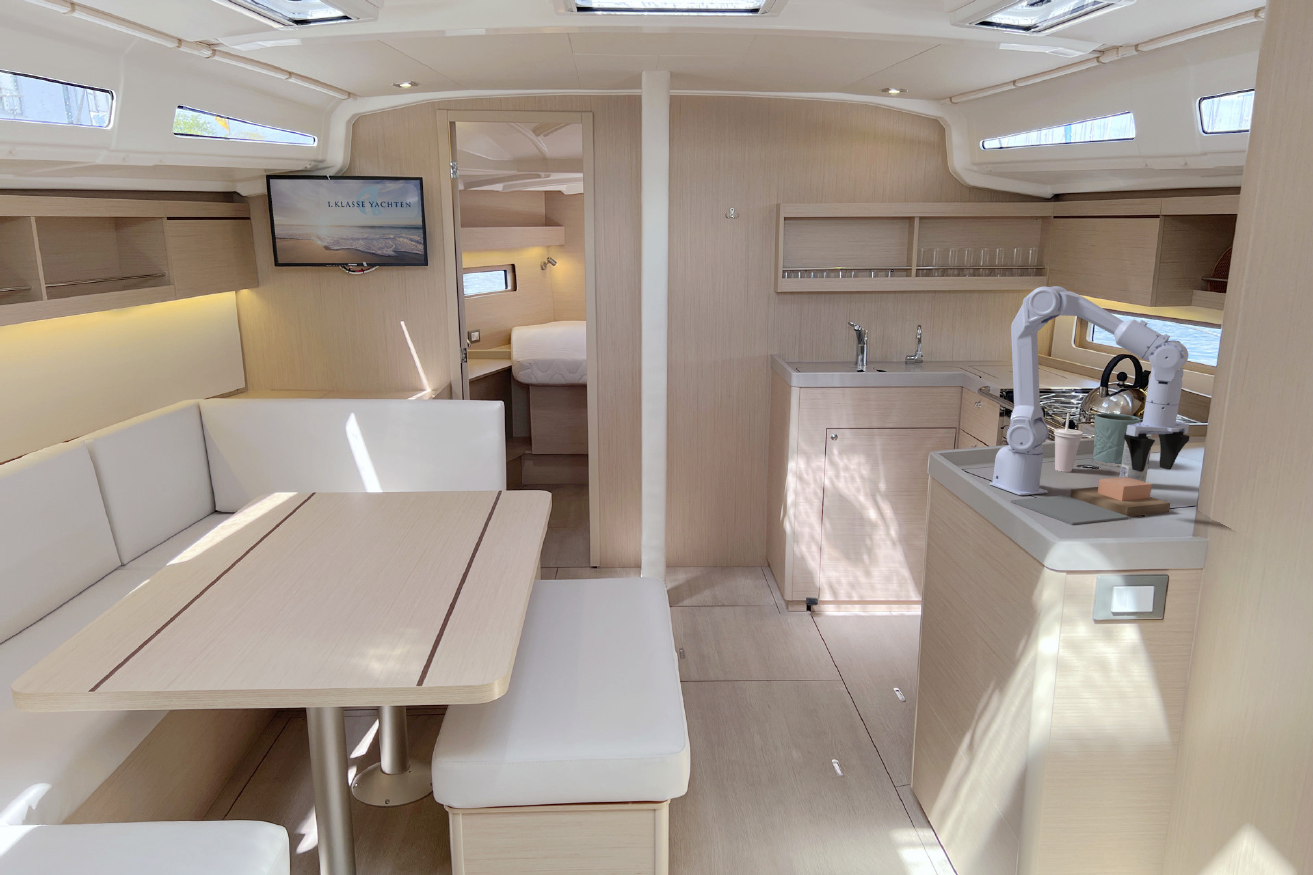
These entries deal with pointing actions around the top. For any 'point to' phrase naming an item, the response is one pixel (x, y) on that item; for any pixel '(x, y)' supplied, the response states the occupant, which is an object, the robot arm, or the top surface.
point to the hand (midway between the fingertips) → (1151, 469)
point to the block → (1124, 488)
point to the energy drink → (1127, 465)
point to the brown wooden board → (1121, 503)
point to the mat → (1069, 509)
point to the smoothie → (1066, 447)
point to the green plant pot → (1111, 436)
